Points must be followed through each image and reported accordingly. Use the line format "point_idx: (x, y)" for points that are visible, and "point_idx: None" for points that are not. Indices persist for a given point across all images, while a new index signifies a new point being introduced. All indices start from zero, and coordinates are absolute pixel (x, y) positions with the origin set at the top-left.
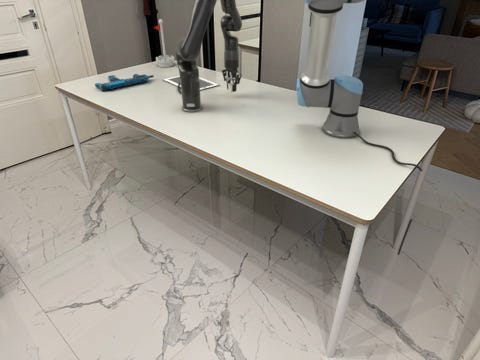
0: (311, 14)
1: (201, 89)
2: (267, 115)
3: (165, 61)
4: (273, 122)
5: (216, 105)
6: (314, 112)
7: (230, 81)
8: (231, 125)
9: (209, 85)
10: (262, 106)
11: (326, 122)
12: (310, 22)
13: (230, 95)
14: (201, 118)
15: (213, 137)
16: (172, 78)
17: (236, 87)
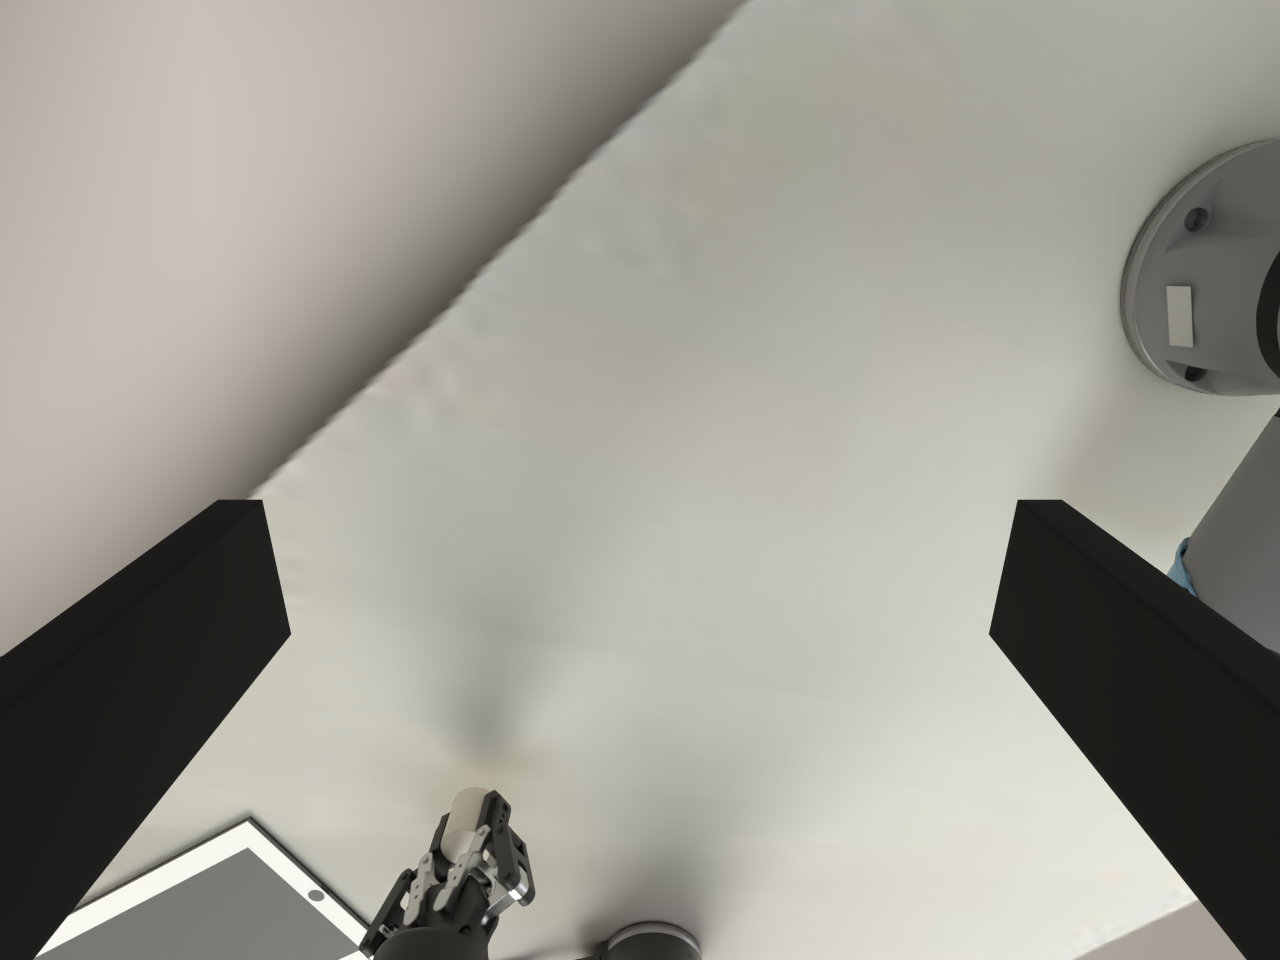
0: (74, 889)
1: (346, 910)
2: (843, 641)
3: None
4: (956, 632)
5: (622, 858)
6: (882, 335)
7: (434, 858)
8: (920, 823)
9: (267, 871)
10: (687, 640)
11: (1250, 394)
12: (241, 693)
13: (456, 778)
14: (791, 925)
15: (1025, 898)
16: None
17: (497, 810)
